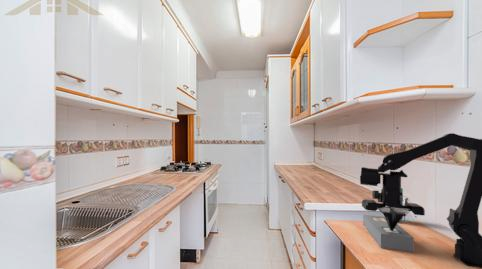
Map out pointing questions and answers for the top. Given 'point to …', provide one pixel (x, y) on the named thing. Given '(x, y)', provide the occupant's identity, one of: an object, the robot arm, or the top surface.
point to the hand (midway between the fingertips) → (391, 230)
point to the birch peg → (379, 219)
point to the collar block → (388, 234)
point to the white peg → (390, 230)
